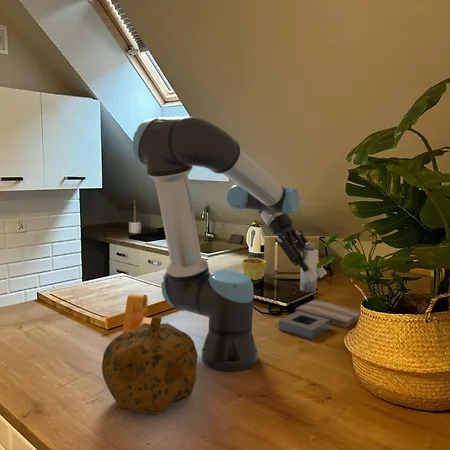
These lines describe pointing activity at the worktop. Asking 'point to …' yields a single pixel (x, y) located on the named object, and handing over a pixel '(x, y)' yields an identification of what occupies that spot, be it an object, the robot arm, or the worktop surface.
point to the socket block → (304, 324)
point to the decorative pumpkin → (150, 367)
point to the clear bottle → (311, 257)
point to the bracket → (135, 312)
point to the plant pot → (253, 268)
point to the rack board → (331, 312)
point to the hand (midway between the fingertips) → (319, 277)
